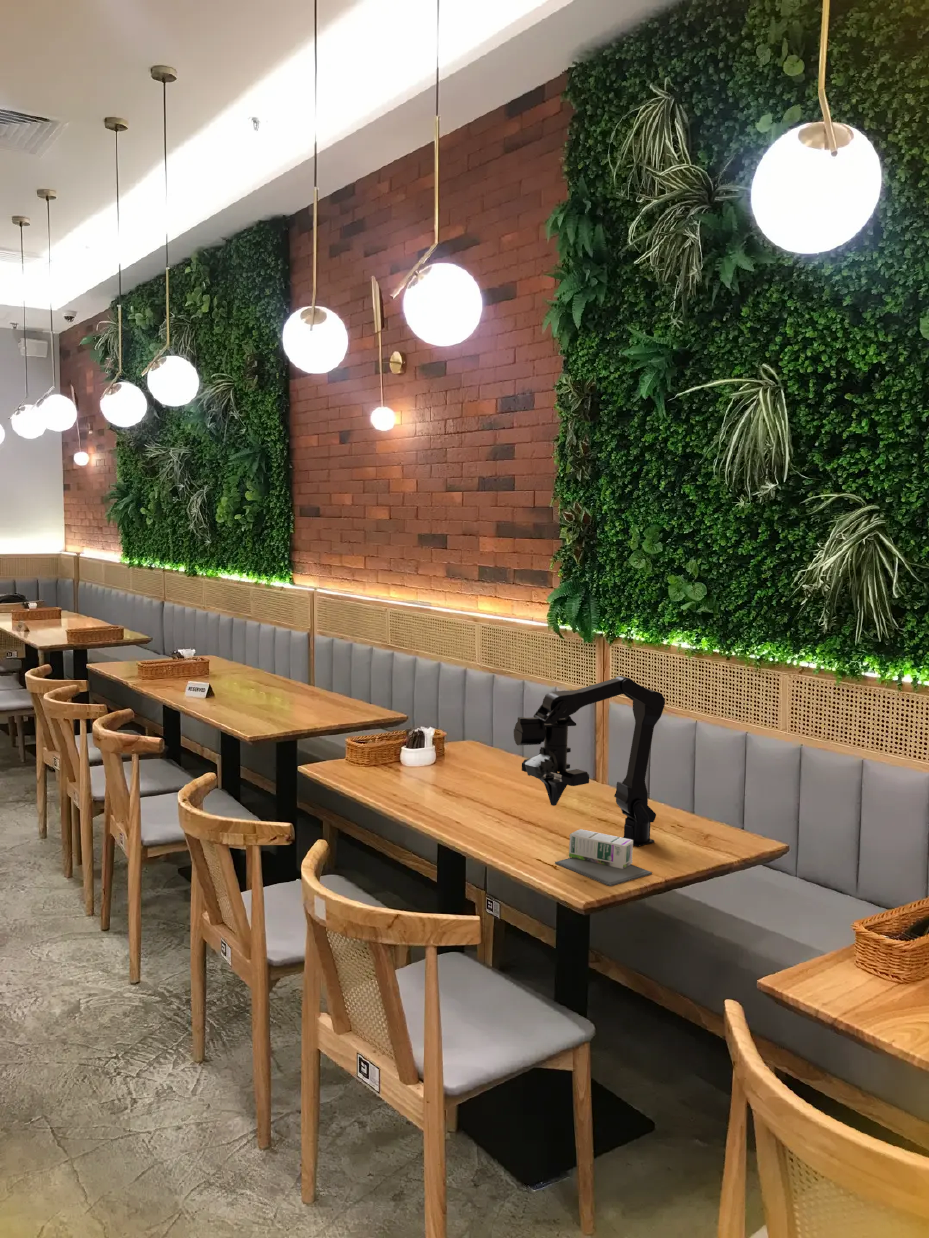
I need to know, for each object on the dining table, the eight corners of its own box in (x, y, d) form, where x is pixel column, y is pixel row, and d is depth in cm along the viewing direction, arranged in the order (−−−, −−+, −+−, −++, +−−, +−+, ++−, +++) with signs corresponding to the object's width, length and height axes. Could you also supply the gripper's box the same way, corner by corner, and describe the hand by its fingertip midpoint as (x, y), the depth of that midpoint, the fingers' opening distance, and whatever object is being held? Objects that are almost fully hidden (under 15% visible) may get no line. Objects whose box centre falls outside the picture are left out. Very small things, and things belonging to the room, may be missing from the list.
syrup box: (569, 833, 231) (624, 846, 223) (580, 828, 236) (634, 839, 228) (568, 856, 232) (623, 869, 224) (579, 850, 237) (633, 863, 229)
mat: (596, 852, 237) (596, 850, 237) (651, 873, 223) (652, 871, 223) (554, 863, 228) (554, 861, 228) (610, 886, 214) (610, 884, 214)
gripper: (506, 740, 239) (504, 801, 240) (558, 755, 225) (556, 820, 226) (538, 735, 246) (536, 794, 247) (592, 749, 232) (589, 812, 233)
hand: (553, 805), depth 238 cm, fingers closed
